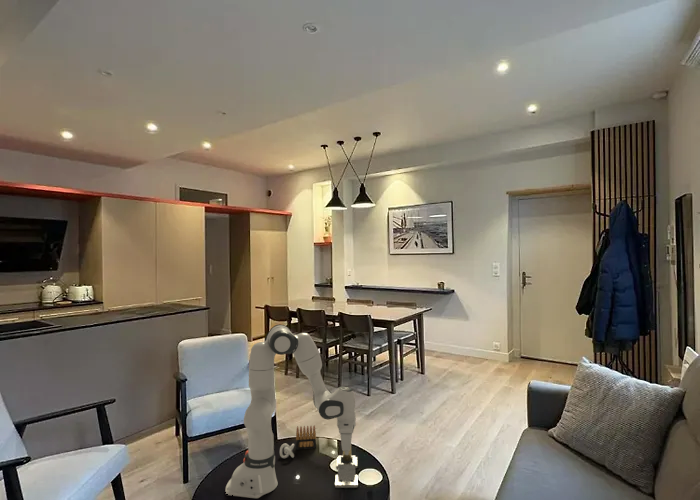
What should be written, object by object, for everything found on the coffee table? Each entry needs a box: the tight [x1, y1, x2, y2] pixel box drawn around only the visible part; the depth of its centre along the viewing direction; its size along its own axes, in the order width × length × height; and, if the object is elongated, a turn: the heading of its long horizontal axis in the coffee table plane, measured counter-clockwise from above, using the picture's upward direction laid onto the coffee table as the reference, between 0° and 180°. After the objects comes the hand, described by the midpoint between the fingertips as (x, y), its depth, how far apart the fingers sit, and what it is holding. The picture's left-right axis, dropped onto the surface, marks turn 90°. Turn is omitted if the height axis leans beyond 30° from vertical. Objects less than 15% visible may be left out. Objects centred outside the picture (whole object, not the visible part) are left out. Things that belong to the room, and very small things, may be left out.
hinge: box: [334, 455, 359, 489], centre depth 187 cm, size 10×24×6 cm, turn 0°
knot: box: [279, 443, 296, 459], centre depth 203 cm, size 8×8×6 cm
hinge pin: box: [342, 448, 352, 461], centre depth 187 cm, size 4×4×9 cm
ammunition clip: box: [295, 425, 317, 450], centre depth 211 cm, size 11×2×12 cm, turn 96°
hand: (346, 451), depth 187 cm, fingers closed on hinge pin, 4 cm apart
